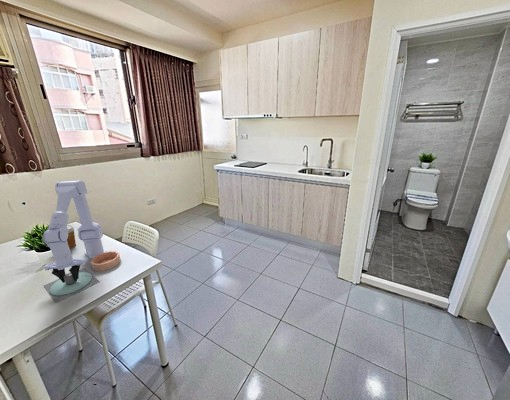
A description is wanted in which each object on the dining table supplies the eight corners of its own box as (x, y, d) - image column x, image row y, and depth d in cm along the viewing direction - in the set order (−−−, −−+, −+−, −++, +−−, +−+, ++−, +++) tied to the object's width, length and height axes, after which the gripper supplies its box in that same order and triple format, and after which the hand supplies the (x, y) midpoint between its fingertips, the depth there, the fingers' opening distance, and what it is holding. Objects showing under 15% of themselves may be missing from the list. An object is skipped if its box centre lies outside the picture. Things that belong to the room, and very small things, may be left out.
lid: (45, 286, 99) (42, 277, 98) (85, 269, 111) (82, 261, 109) (56, 301, 91) (52, 291, 89) (97, 281, 102) (95, 272, 101)
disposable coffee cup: (55, 248, 130) (48, 230, 127) (73, 241, 139) (67, 223, 135) (64, 252, 127) (58, 233, 123) (82, 244, 135) (77, 226, 131)
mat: (43, 286, 100) (43, 285, 100) (85, 268, 112) (85, 267, 112) (56, 304, 90) (55, 303, 90) (100, 282, 102) (100, 281, 102)
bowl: (89, 265, 114) (87, 259, 113) (114, 255, 123) (112, 248, 122) (98, 274, 108) (96, 267, 106) (124, 262, 117) (123, 256, 115)
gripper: (35, 262, 91) (46, 289, 95) (76, 257, 94) (85, 283, 98) (46, 252, 97) (55, 278, 102) (84, 248, 100) (92, 273, 105)
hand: (70, 280), depth 100 cm, fingers closed on lid, 4 cm apart
